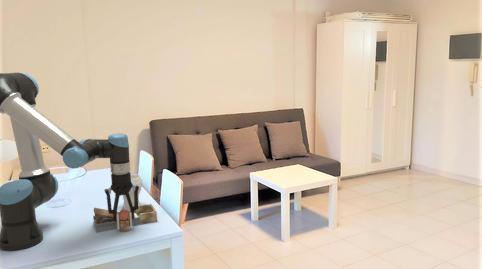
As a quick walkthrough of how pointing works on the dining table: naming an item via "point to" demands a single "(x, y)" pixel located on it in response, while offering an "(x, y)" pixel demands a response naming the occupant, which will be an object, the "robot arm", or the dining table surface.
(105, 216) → the ramp
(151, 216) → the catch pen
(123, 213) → the ball
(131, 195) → the cup
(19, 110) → the robot arm
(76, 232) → the dining table surface
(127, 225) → the hollow wooden block
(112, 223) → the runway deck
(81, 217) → the dining table surface
